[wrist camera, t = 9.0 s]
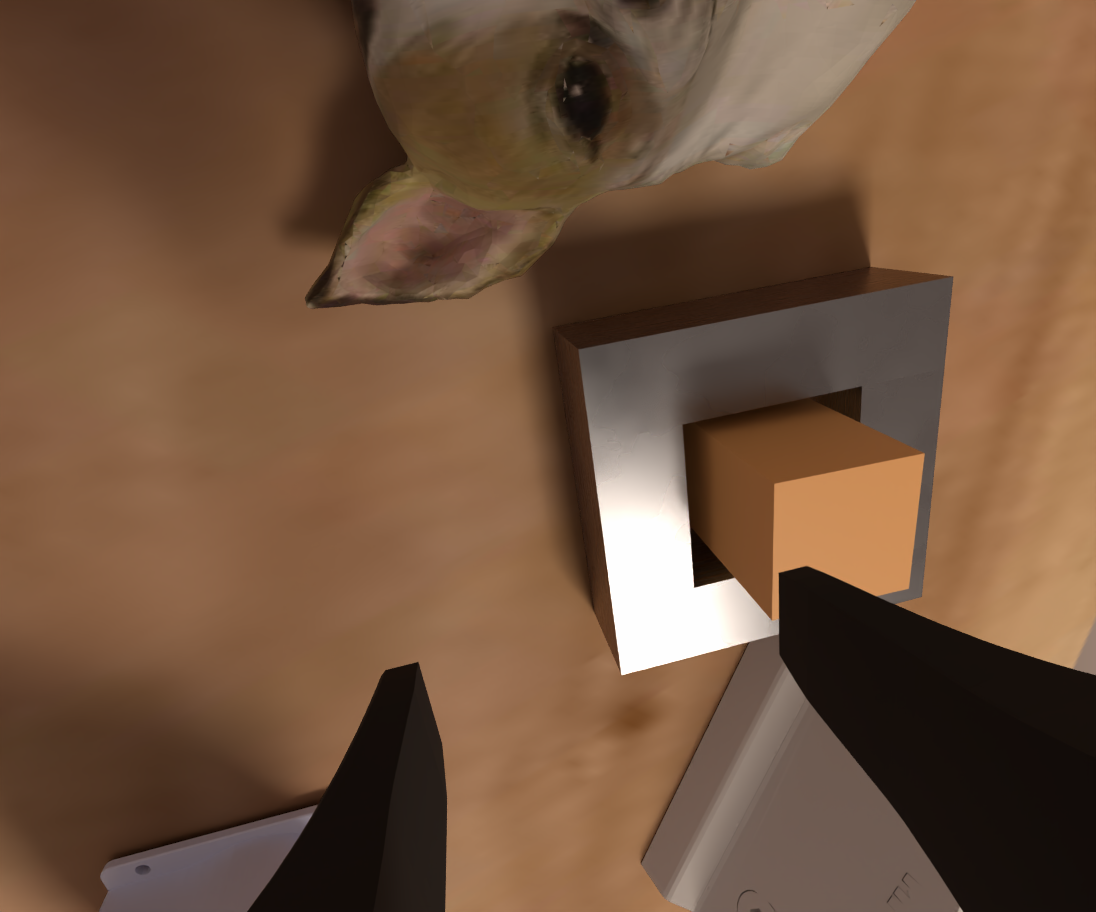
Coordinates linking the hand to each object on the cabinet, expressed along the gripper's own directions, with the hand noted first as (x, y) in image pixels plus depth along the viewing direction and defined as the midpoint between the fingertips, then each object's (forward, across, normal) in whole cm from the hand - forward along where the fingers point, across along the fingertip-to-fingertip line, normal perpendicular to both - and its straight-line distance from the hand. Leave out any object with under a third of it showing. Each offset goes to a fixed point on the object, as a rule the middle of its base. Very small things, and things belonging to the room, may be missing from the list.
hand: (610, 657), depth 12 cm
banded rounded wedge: (+10, -9, +16) cm, 21 cm away
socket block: (+10, -7, +1) cm, 12 cm away
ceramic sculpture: (+10, -2, -12) cm, 16 cm away
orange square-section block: (+10, -7, +1) cm, 12 cm away
